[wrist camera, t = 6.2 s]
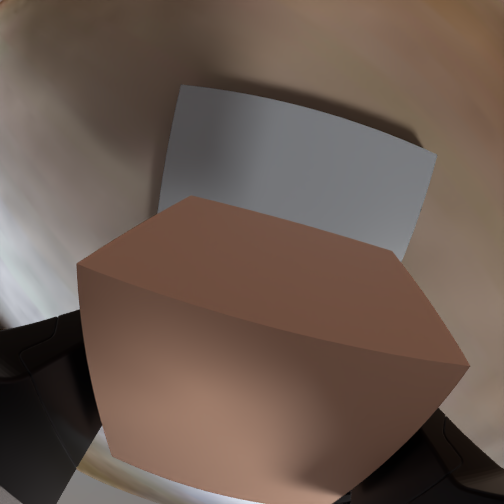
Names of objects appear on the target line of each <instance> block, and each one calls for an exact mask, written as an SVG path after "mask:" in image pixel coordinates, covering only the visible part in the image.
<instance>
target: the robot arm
mask: <svg viewBox="0 0 504 504" xmlns="http://www.w3.org/2000/svg"><path fill="white" fill-rule="evenodd" d="M101 426H102V422H101V419H100V415H99V411H98V407H97V403H96V399H95V395H94V391H93V387H92V382H91V377H90V372H89V367H88V362H87V356H86V350H85V344H84V338H83V331H82V323H81V315H80V309H79V310H76V311H73V312H70V313H66V314H63V315H60V316H58V317H53V318H50V319H47V320H43V321H40V322H36V323H32V324H29V325H24V326H20V327H15V328H11V329H6V330H1V331H0V504H20V502H21V503H23V504H57V502H58V500H59V498H60V496H61V495H62V493H63V491H64V489H65V488H66V486H67V484H68V482H69V481H70V479H71V477H72V475H73V473H74V472H75V470H76V467H77V466H78V465H79V463H80V461H81V460H82V458H83V456H84V455H85V453H86V451H87V449H88V448H89V446H90V444H91V443H92V441H93V439H94V438H95V436H96V435H97V433H98V431H99V430H100V428H101ZM332 504H504V469H503V468H501V467H500V466H499V465H497V464H496V463H495V462H494V461H493V460H492V459H491V458H490V457H489V456H487V455H486V454H485V453H484V452H483V451H482V450H481V449H480V448H479V447H477V446H476V445H475V444H474V443H473V442H472V441H471V440H470V439H469V438H468V437H467V436H466V435H464V434H463V433H462V432H461V431H460V430H459V429H458V428H457V427H456V426H455V425H454V424H453V422H452V421H451V420H450V419H449V418H448V417H445V414H444V413H443V412H442V411H441V410H440V409H439V408H437V410H436V411H435V412H434V413H433V414H432V415H431V416H430V418H429V419H428V420H427V421H426V422H425V423H424V424H423V425H422V426H421V427H420V428H419V429H418V431H417V432H416V433H415V434H414V435H413V436H412V437H411V438H410V439H409V440H408V441H407V442H406V443H405V444H404V445H403V446H402V447H401V448H400V449H399V450H397V451H396V452H395V453H394V454H393V455H392V456H391V457H390V458H389V459H388V460H387V461H386V462H384V463H383V464H382V465H381V466H380V467H379V468H378V469H376V470H375V471H374V472H373V473H372V474H370V475H369V476H368V477H367V478H366V479H364V480H363V481H362V482H361V483H359V484H358V485H357V486H355V487H354V488H353V489H351V490H350V491H349V492H347V493H346V494H345V495H343V496H342V497H341V498H339V499H338V500H336V501H335V502H334V503H332Z"/></svg>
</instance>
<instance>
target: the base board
mask: <svg viewBox="0 0 504 504" xmlns="http://www.w3.org/2000/svg"><path fill="white" fill-rule="evenodd" d="M436 158H437V154H434V153H432V152H430V151H428V150H426V149H423V148H421V147H419V146H416V145H414V144H412V143H409V142H407V141H405V140H402V139H400V138H397V137H395V136H392V135H390V134H387V133H384V132H382V131H379V130H376V129H374V128H371V127H368V126H365V125H362V124H359V123H356V122H353V121H350V120H347V119H344V118H341V117H338V116H334V115H331V114H328V113H324V112H321V111H317V110H314V109H310V108H306V107H303V106H299V105H295V104H291V103H287V102H282V101H278V100H274V99H269V98H264V97H259V96H254V95H249V94H244V93H238V92H232V91H226V90H220V89H213V88H206V87H198V86H190V85H181V87H180V91H179V95H178V100H177V104H176V109H175V113H174V118H173V123H172V128H171V133H170V138H169V143H168V149H167V154H166V160H165V166H164V172H163V178H162V185H161V191H160V199H159V206H158V213H160V212H162V211H163V210H165V209H167V208H169V207H171V206H172V205H174V204H176V203H178V202H180V201H181V200H183V199H185V198H187V197H189V196H191V195H192V196H196V197H200V198H204V199H208V200H212V201H216V202H220V203H224V204H228V205H232V206H236V207H240V208H244V209H248V210H252V211H255V212H259V213H263V214H267V215H271V216H274V217H278V218H282V219H285V220H289V221H293V222H296V223H300V224H303V225H307V226H310V227H314V228H317V229H321V230H324V231H328V232H331V233H335V234H338V235H341V236H345V237H348V238H352V239H355V240H358V241H361V242H365V243H368V244H371V245H375V246H378V247H381V248H384V249H387V250H391V251H393V253H394V254H395V255H396V257H397V258H398V259H399V261H400V262H401V261H402V259H403V256H404V254H405V251H406V249H407V246H408V244H409V241H410V239H411V236H412V233H413V231H414V228H415V225H416V222H417V219H418V217H419V214H420V211H421V208H422V205H423V202H424V199H425V196H426V192H427V189H428V186H429V183H430V179H431V176H432V172H433V169H434V165H435V162H436Z"/></svg>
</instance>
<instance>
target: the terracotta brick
mask: <svg viewBox="0 0 504 504" xmlns="http://www.w3.org/2000/svg"><path fill="white" fill-rule="evenodd" d="M77 281H78V294H79V305H80V315H81V323H82V331H83V338H84V344H85V350H86V356H87V362H88V367H89V372H90V377H91V382H92V387H93V391H94V395H95V399H96V403H97V407H98V411H99V415H100V419H101V422H102V426H103V429H104V433H105V436H106V439H107V442H108V445H109V449H110V452H111V455H112V456H113V457H115V458H117V459H119V460H121V461H123V462H126V463H128V464H130V465H133V466H135V467H137V468H140V469H142V470H145V471H147V472H150V473H152V474H155V475H158V476H160V477H163V478H166V479H169V480H172V481H175V482H178V483H181V484H184V485H187V486H190V487H194V488H197V489H201V490H204V491H208V492H212V493H216V494H220V495H224V496H228V497H233V498H238V499H243V500H248V501H253V502H259V503H265V504H332V503H334V502H335V501H336V500H338V499H339V498H341V497H342V496H343V495H345V494H346V493H347V492H349V491H350V490H351V489H353V488H354V487H355V486H357V485H358V484H359V483H361V482H362V481H363V480H364V479H366V478H367V477H368V476H369V475H370V474H372V473H373V472H374V471H375V470H376V469H378V468H379V467H380V466H381V465H382V464H383V463H384V462H386V461H387V460H388V459H389V458H390V457H391V456H392V455H393V454H394V453H395V452H396V451H397V450H399V449H400V448H401V447H402V446H403V445H404V444H405V443H406V442H407V441H408V440H409V439H410V438H411V437H412V436H413V435H414V434H415V433H416V432H417V431H418V429H419V428H420V427H421V426H422V425H423V424H424V423H425V422H426V421H427V420H428V419H429V418H430V416H431V415H432V414H433V413H434V412H435V411H436V410H437V408H438V407H439V406H440V405H441V404H442V402H443V401H444V400H445V399H446V398H447V396H448V395H449V394H450V393H451V391H452V390H453V389H454V387H455V386H456V385H457V384H458V382H459V381H460V380H461V378H462V377H463V376H464V374H465V373H466V371H467V370H468V369H469V367H470V365H469V363H468V361H467V360H466V358H465V356H464V354H463V353H462V351H461V349H460V348H459V346H458V345H457V343H456V341H455V340H454V338H453V336H452V335H451V333H450V332H449V330H448V329H447V327H446V326H445V324H444V322H443V321H442V319H441V318H440V316H439V315H438V313H437V312H436V310H435V309H434V307H433V306H432V305H431V303H430V302H429V300H428V299H427V297H426V296H425V294H424V293H423V292H422V290H421V289H420V287H419V286H418V285H417V283H416V282H415V281H414V279H413V278H412V276H411V275H410V274H409V272H408V271H407V270H406V268H405V267H404V266H403V264H402V263H401V262H400V261H399V259H398V258H397V257H396V255H395V254H394V253H393V251H391V250H387V249H384V248H381V247H378V246H375V245H371V244H368V243H365V242H361V241H358V240H355V239H352V238H348V237H345V236H341V235H338V234H335V233H331V232H328V231H324V230H321V229H317V228H314V227H310V226H307V225H303V224H300V223H296V222H293V221H289V220H285V219H282V218H278V217H274V216H271V215H267V214H263V213H259V212H255V211H252V210H248V209H244V208H240V207H236V206H232V205H228V204H224V203H220V202H216V201H212V200H208V199H204V198H200V197H196V196H192V195H191V196H189V197H187V198H185V199H183V200H181V201H180V202H178V203H176V204H174V205H172V206H171V207H169V208H167V209H165V210H163V211H162V212H160V213H158V214H156V215H155V216H153V217H151V218H149V219H148V220H146V221H144V222H143V223H141V224H139V225H138V226H136V227H134V228H132V229H131V230H129V231H127V232H126V233H124V234H123V235H121V236H119V237H118V238H116V239H114V240H113V241H111V242H110V243H108V244H106V245H105V246H103V247H102V248H100V249H98V250H97V251H95V252H94V253H92V254H91V255H89V256H88V257H86V258H85V259H83V260H81V261H80V262H78V263H77Z"/></svg>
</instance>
